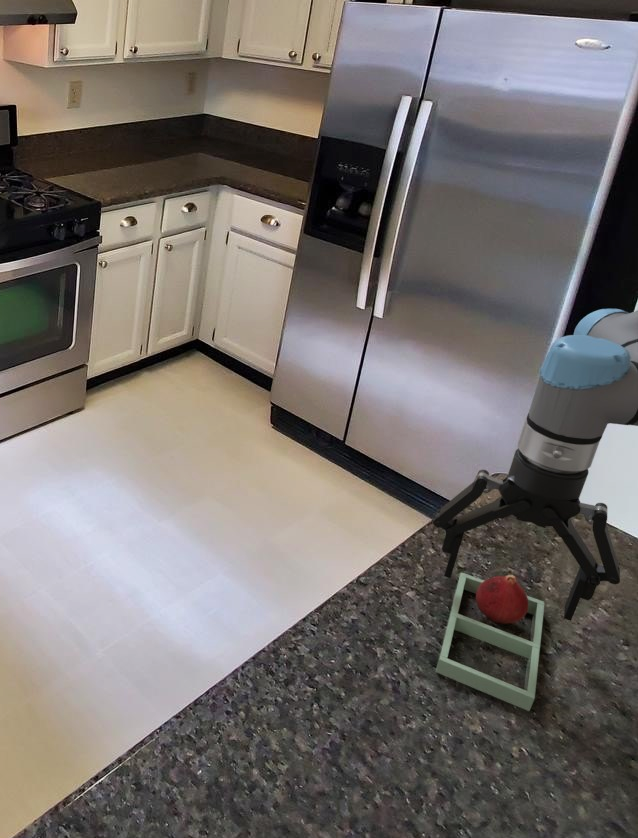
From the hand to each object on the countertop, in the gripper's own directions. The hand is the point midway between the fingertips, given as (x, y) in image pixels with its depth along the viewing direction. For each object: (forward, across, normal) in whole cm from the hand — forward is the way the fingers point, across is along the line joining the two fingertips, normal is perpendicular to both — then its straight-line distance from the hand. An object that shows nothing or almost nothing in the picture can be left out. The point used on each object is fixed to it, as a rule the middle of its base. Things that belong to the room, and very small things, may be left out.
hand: (506, 592), depth 106 cm
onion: (+5, 0, 0) cm, 5 cm away
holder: (+6, 0, -5) cm, 8 cm away
